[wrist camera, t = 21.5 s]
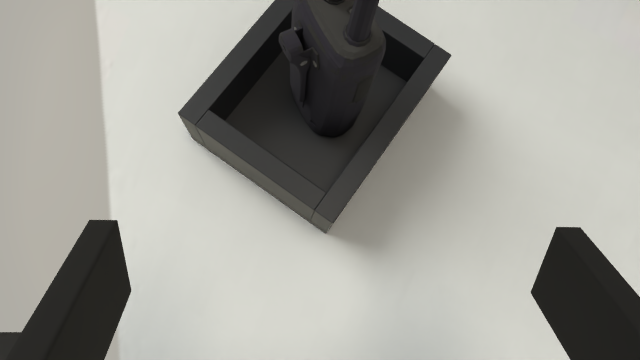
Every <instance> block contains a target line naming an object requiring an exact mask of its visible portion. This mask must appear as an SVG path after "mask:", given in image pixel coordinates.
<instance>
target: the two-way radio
mask: <svg viewBox="0 0 640 360" xmlns="http://www.w3.org/2000/svg"><path fill="white" fill-rule="evenodd" d="M378 3H379V0H294V4H293V8H292V21H291V29H289V30H286V31H284V32H281V33H280V34H279V43H280V45H281V48H282V50H283V52H284V54H285V55H286V57H287V58H288V60H289V61H290V86H291V88H292V94H293V98H294V100H295V102H296V105H297V107H298V109H299V111H300V112H301V114H302V116H303V118H304V119H305V121H306V122H307V124H308V126H309V127H310V128H311V129H312V130H313V131H314V132H316V133H318V134H320V135H327V136H333V137H335V136H338V135H341V134H344V133H345V132H347V131H348V130H349V129H350V128H352V126H353V125H354V123H355V121H356V119H357V117H358V115H359V113H360V111H361V109H362V107H363V104H364V102H365V100H366V98H367V96H368V93H369V90H370V88H371V86H372V84H373V82H374V80H375V77H376V75H377V72H378V70H379V67H380V65H381V62H382V59H383V57H384V53H385V50H386V39H385V36H384V34H383V31H382V29H381V27H380V25H379V23H378V21H377V20H376V18H375V13H376V10H377V6H378Z"/></svg>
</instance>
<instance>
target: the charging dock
mask: <svg viewBox="0 0 640 360" xmlns="http://www.w3.org/2000/svg"><path fill="white" fill-rule="evenodd" d="M293 4H294V0H275V1H274V2H273V3H272V4H271V5H270V7H269V8H268V9H267V10H266V11H265V12H264V14H263V15H262V16H261V17H260V18H259V19H258V21H257V22H256V23H255V24H254V25H253V26H252V27H251V29H250V30H249V31H248V32H247V33H246V34H245V36H244V37H243V38H242V39H241V40H240V41H239V43H238V44H237V45H236V46H235V47H234V48H233V50H232V51H231V52H230V53H229V54H228V55H227V57H226V58H225V59H224V60H223V61H222V62H221V64H220V65H219V66H218V67H217V68H216V69H215V71H214V72H213V73H212V74H211V75H210V76H209V77H208V79H207V80H206V81H205V82H204V83H203V84H202V86H201V87H200V88H199V89H198V90H197V91H196V93H195V94H194V95H193V96H192V97H191V98H190V100H189V101H188V102H187V103H186V104H185V105H184V107H183V108H182V109H181V110H180V111H179V112H178V114H179V116H180V118H181V119H182V121H183V123H184V125H185V126H186V128H187V130H188V131H189V133H190V135H191V137H192V138H193V139H194V140H195V141H197V142H198V143H200V144H201V145H202V146H204V147H205V148H207V149H208V150H209V151H211V152H212V153H214V154H215V155H216V156H218V157H219V158H221V159H222V160H223V161H225V162H226V163H228V164H229V165H230V166H232V167H233V168H235V169H236V170H237V171H239V172H240V173H242V174H243V175H244V176H246V177H247V178H248V179H250V180H251V181H253V182H254V183H255V184H257V185H258V186H260V187H261V188H262V189H264V190H265V191H267V192H268V193H269V194H271V195H272V196H274V197H275V198H276V199H278V200H279V201H281V202H282V203H283V204H285V205H286V206H288V207H289V208H290V209H292V210H293V211H295V212H296V213H297V214H299V215H300V216H302V217H303V218H304V219H306V220H307V221H309V222H310V223H311V224H313V225H314V226H316V227H317V228H318V229H320V230H321V231H323V232H324V233H327V231H328V230H329V229H330V227H331V226H332V224H333V223H334V222H335V220H336V219H337V217H338V216H339V214H340V213H341V212H342V210H343V209H344V207H345V206H346V205H347V203H348V202H349V200H350V199H351V197H352V196H353V195H354V193H355V192H356V190H357V189H358V188H359V186H360V185H361V183H362V182H363V180H364V179H365V178H366V176H367V175H368V173H369V172H370V171H371V169H372V168H373V166H374V165H375V163H376V162H377V161H378V159H379V158H380V156H381V155H382V154H383V152H384V151H385V149H386V148H387V146H388V145H389V144H390V142H391V141H392V139H393V138H394V137H395V135H396V134H397V132H398V131H399V130H400V128H401V127H402V125H403V124H404V122H405V121H406V120H407V118H408V117H409V115H410V114H411V113H412V111H413V110H414V108H415V107H416V105H417V104H418V103H419V101H420V100H421V98H422V97H423V96H424V94H425V93H426V91H427V90H428V88H429V87H430V86H431V84H432V83H433V81H434V80H435V78H436V77H437V76H438V74H439V73H440V71H441V70H442V68H443V67H444V66H445V64H446V63H447V61H448V60H449V58H450V57H451V54H449V53H448V52H446V51H445V50H443V49H442V48H440V47H439V46H437V45H434V43H433V42H431V41H430V40H428V39H427V38H425V37H424V36H422V35H421V34H419V33H418V32H416V31H415V30H413V29H412V28H410V27H409V26H407V25H406V24H404V23H403V22H401V21H400V20H398V19H397V18H395V17H394V16H392V15H391V14H389V13H388V12H386V11H384V10H383V9H381V8H380V7H378V6H377V10H376V13H375V18H376V20H377V21H378V23H379V25H380V27H381V29H382V31H383V34H384V36H385V39H386V50H385V53H384V57H383V59H382V62H381V65H380V67H379V70H378V72H377V75H376V77H375V80H374V82H373V84H372V86H371V88H370V90H369V93H368V96H367V98H366V100H365V102H364V104H363V107H362V109H361V111H360V113H359V115H358V117H357V119H356V121H355V123H354V125H353V126H352V128H350V129H349V130H348V131H347V132H345V133H344V134H341V135H338V136H335V137H333V136H327V135H320V134H318V133H316V132H314V131H313V130H312V129H311V128H310V127H309V126H308V124H307V122H306V121H305V119H304V118H303V116H302V114H301V112H300V111H299V109H298V107H297V105H296V102H295V100H294V98H293V94H292V88H291V86H290V61H289V60H288V58H287V57H286V55H285V54H284V52H283V50H282V48H281V45H280V43H279V34H280V33H281V32H284V31H286V30H289V29H291V21H292V8H293Z"/></svg>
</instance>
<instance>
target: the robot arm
mask: <svg viewBox="0 0 640 360" xmlns="http://www.w3.org/2000/svg"><path fill="white" fill-rule="evenodd" d="M130 293H131V287H130V282H129V277H128V272H127V267H126V262H125V257H124V252H123V247H122V242H121V237H120V232H119V227H118V222H117V220H89V222H88V224H87V225H86V227H85V228H84V230H83V232H82V234H81V235H80V237H79V238H78V240H77V242H76V243H75V245H74V247H73V248H72V250H71V252H70V253H69V255H68V257H67V258H66V260H65V262H64V263H63V265H62V267H61V268H60V270H59V271H58V273H57V275H56V276H55V278H54V280H53V281H52V283H51V285H50V286H49V288H48V290H47V291H46V293H45V295H44V296H43V298H42V300H41V301H40V303H39V305H38V306H37V308H36V310H35V311H34V313H33V315H32V316H31V318H30V320H29V321H28V323H27V324H26V326H25V328H24V329H23V331H22V332H20V333H19V332H18V333H17V332H13V333H12V332H2V333H1V332H0V360H104V359H105V356H106V354H107V351H108V349H109V346H110V344H111V341H112V338H113V336H114V333H115V331H116V328H117V326H118V323H119V321H120V318H121V316H122V313H123V311H124V308H125V306H126V303H127V301H128V298H129V295H130ZM531 294H532V296H533V297H534V299H535V301H536V303H537V304H538V306H539V308H540V309H541V311H542V313H543V314H544V316H545V318H546V319H547V321H548V323H549V324H550V326H551V328H552V329H553V331H554V333H555V334H556V336H557V338H558V340H559V341H560V343H561V345H562V346H563V348H564V350H565V351H566V353H567V355H568V356H569V358H570V360H640V297H639V296H638V295H637V293H636V292H635V291H634V290H633V289H632V288H631V286H630V285H629V284H628V283H627V282H626V280H625V279H624V278H623V277H622V276H621V275H620V273H619V272H618V271H617V270H616V269H615V268H614V266H613V265H612V264H611V263H610V262H609V261H608V259H607V258H606V257H605V256H604V255H603V254H602V252H601V251H600V250H599V249H598V248H597V247H596V245H595V244H594V243H593V242H592V241H591V240H590V238H589V237H588V236H587V235H586V234H585V233H584V231H583V230H582V229H581V228H578V227H556V230H555V232H554V235H553V237H552V240H551V242H550V245H549V247H548V250H547V252H546V255H545V257H544V260H543V262H542V265H541V268H540V270H539V273H538V275H537V278H536V280H535V283H534V285H533V288H532V290H531Z"/></svg>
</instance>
